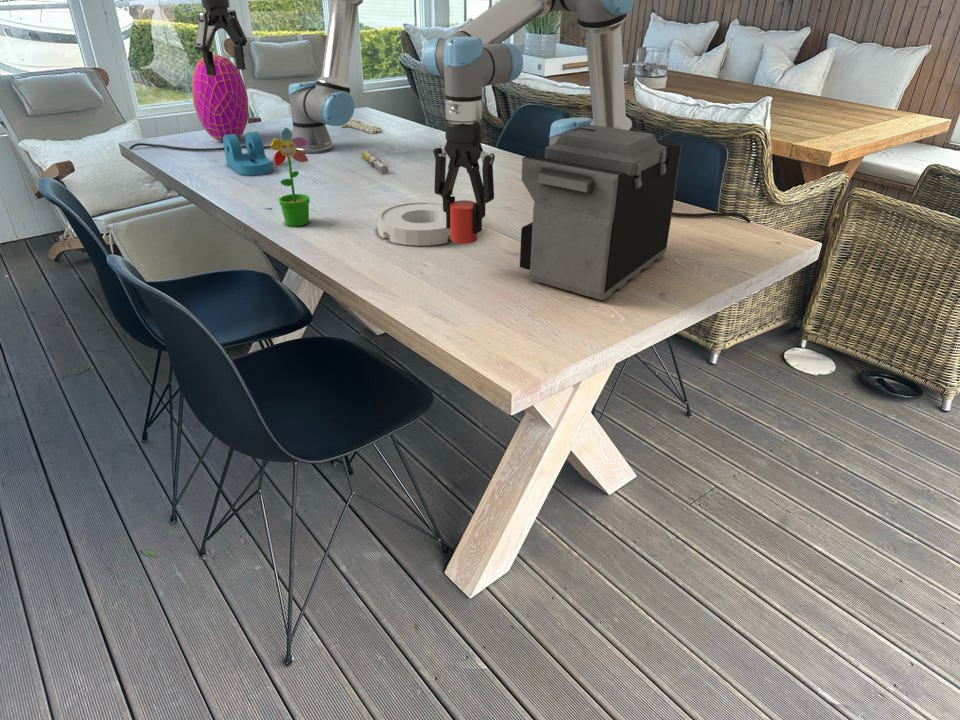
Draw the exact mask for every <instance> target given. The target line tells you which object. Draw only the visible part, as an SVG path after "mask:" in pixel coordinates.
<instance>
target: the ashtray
mask: <svg viewBox="0 0 960 720" xmlns="http://www.w3.org/2000/svg"><path fill="white" fill-rule="evenodd" d="M376 219H377V233H378V235H379V236H380V238H382V239H389V242H391V243H394V244H399V245H403V246H415V247H420V246H421V247H422V246H423V247H425V246H438V245H444V244H447V243H448V242H449V241H451V235H450V229H448V228H446V212H444V211H443V201H432V200H431V201H430V200H414V201H407V202H400V203H395V204H392V205H388V206H386V207H383V208H382V209H381V210H379V212H378V213H377V217H376Z"/></svg>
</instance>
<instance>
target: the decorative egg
mask: <svg viewBox="0 0 960 720" xmlns="http://www.w3.org/2000/svg"><path fill="white" fill-rule="evenodd" d="M213 59H214V64H215V70H216V76H211V75H207V71H206V66H205V63H204V59H203V57H201V58H199V60H197V62H196V65H195V67H194V69H193V72H192V78H191V91H192V93H191V94H192V102H193V106H194V110H195V112H196V115H197V118H198V119H199V122H200V125H202V128H203V129H204V130H205V132H206V133H207V134H208V135H209V137H212V139H214V140H216V141H220V142H223V137H224V135H230V134H235V135H236V136H237V138H238V139H240V138H241V137H242V135H243V134H244V132H245V129H246V127H247V124H248V120H249V98H248V97H249V96H248V91H247V88H246V84H245V82H244V79H243V76H242V74H241V72H240V71H239V69H237V66H236V64H234V62H233V61H231V60H230V59H229V58H228V57H225V56H223V55H220V54H213Z"/></svg>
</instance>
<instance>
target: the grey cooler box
mask: <svg viewBox="0 0 960 720" xmlns="http://www.w3.org/2000/svg"><path fill="white" fill-rule="evenodd" d="M682 147H683V144H682V143H677V142H671V141H665V140H658V139H656V136H655V134H654V133H649V132H643V131H636V130H632V131H630V130H623V129H617V128H610V127H603V126H597V125H590V124H589V125H586V126H583V127H580V128H579V130H577V131H569V132H566V133H563V134H561V135H560V137H559V138H558V140H557V141H556V143H554V144H552V145H550V146H549V145H548V146H546V147H544V157H540V156H535V155H531V154H529V155H525V156H523V157H522V161H521V182H522V183H523V185H524V186H525V188H526V190H527V192H528V193H529V195H530V197H531V199H532V200H533V201H534V204H533V209H532V222H530V223H528V224H526V225H524V226H522V227H521V230H520V231H521V232H520V251H519V268H521V269H525V270H528V271H529V278H530V280H531V281H534V282H537V283H541V284H544V285H547V286H551V287H554V288H558V289H561V290H565V291H568V292H572V293H575V294H579V295H582V296H585V297H589V298H591V299H592V298H593V299H596V300H599V301H606V300H608V299H609V298H610V297H611V296H612V295H613V293H614V292H615V291H616V290H621V289H622V288H624V287H625V285H626V284H627V282H628V281H629V280H634V279H635V278H637V277H638V276H639V275H640V273H641V272H642V271H643V270H647V269H649V268H650V267H651V266H652V265H653V263H654V262H655V261H659V260H661V259H662V258H663V257H664V255H665V253H666V252H667V248H668V242H669V236H670V228H671V223H672V222H671V221H672V216H673V215H672V212H673V210H674V203H675V198H676V192H677V191H676V190H677V180H678V173H679V168H680V167H679V166H680V162H681V161H680V160H681V154H682V149H683V148H682Z"/></svg>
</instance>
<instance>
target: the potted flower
mask: <svg viewBox="0 0 960 720" xmlns="http://www.w3.org/2000/svg"><path fill="white" fill-rule="evenodd" d="M307 143H309V141H308V140H307V139H305V138H304V137H300V136H299V137H295V138H293V139H292V131H291V130H290V128H288V127H284V128H283V129H282V130H281V131H280V139H279V138H273V139H272V141H271V145H270V146H271V148H270V149H272V150H274V151H275V153H274V155H273V163H274V165H275V167H277V166H282V164H283V163H285V161H286V158H287V164H288V165H287V166H288V171H289V178H284V179H282V180H281V181H280V184H281V185H282V186H285V187H291V193H290V194H286V195H282V196H280V197H279V198H278V202H279V205H280V207H281V210H282V215H283V219H284V223H285V225H287V226H290V227H291V226H292V227H301V226H304V225H306V224H309V222H310V206H309V205H310V196H309V195H307V194H303V193H296V192H295V191H296V190H295V184H294V178H296V177H297V176H299V174H300V173H299V171H297V170H295V171H293V168H292V162H291V161H292V160H291V159H293V160H294V161H296V162H297V163H307V162H309V158H308V156H307V155H306V153H304V152H302V151H301V150H299V149H297V148H301V147H303V146H305V145H306V144H307Z"/></svg>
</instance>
